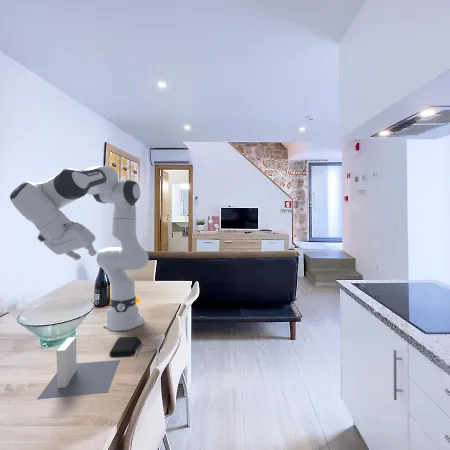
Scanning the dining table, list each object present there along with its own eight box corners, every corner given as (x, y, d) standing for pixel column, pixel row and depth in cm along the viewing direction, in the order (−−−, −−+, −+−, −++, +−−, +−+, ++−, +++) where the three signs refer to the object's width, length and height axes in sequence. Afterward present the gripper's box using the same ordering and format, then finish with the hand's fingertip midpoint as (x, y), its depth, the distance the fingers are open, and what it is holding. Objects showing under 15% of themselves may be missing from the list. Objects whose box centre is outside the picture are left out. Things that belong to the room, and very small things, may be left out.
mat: (63, 366, 106) (62, 364, 106) (120, 361, 110) (120, 360, 110) (37, 401, 87) (37, 399, 87) (107, 394, 90) (107, 392, 90)
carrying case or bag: (136, 358, 113) (142, 341, 128) (136, 350, 113) (142, 334, 127) (108, 359, 112) (117, 342, 126) (108, 352, 112) (117, 335, 126)
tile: (68, 370, 102) (67, 337, 102) (76, 370, 103) (75, 336, 102) (56, 387, 92) (55, 350, 92) (65, 387, 93) (65, 350, 92)
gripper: (81, 213, 92) (110, 245, 99) (47, 227, 103) (75, 255, 109) (67, 226, 88) (98, 258, 94) (34, 239, 98) (64, 267, 104)
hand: (86, 256), depth 102 cm, fingers open, 8 cm apart
